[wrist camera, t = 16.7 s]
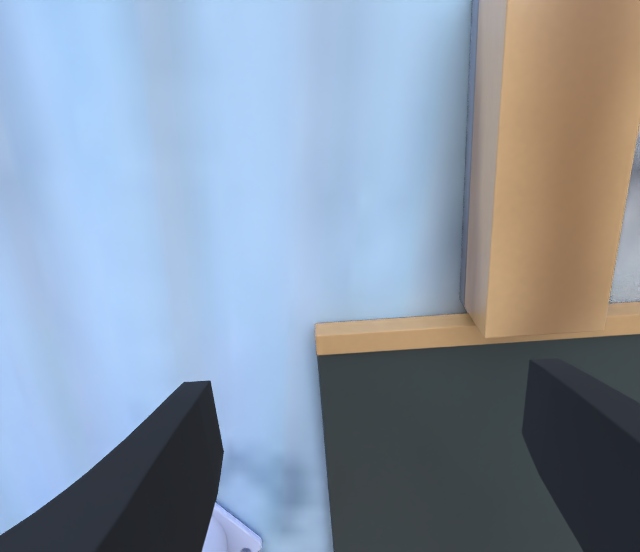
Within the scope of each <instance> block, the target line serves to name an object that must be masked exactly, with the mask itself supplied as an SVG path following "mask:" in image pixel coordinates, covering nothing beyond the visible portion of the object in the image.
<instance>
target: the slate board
mask: <svg viewBox="0 0 640 552" xmlns="http://www.w3.org/2000/svg"><path fill="white" fill-rule="evenodd" d="M315 341H316V352H317V360H318V371H319V383H320V395H321V407H322V419H323V430H324V442H325V454H326V466H327V477H328V489H329V501H330V513H331V525H332V536H333V548H334V552H583V550H582V548H581V547H580V545H579V543H578V541H577V540H576V538H575V536H574V535H573V533H572V531H571V529H570V528H569V526H568V524H567V523H566V521H565V519H564V518H563V516H562V514H561V512H560V511H559V509H558V507H557V506H556V504H555V502H554V500H553V499H552V497H551V495H550V493H549V492H548V490H547V488H546V486H545V485H544V483H543V481H542V479H541V477H540V476H539V474H538V471H537V469H536V467H535V464H534V462H533V460H532V458H531V455H530V453H529V450H528V448H527V445H526V443H525V440H524V438H523V435H522V425H523V416H524V406H525V397H526V388H527V379H528V369H529V360H530V359H545V358H559V359H561V360H563V361H565V362H567V363H569V364H571V365H573V366H575V367H577V368H578V369H580V370H582V371H584V372H586V373H587V374H589V375H591V376H593V377H594V378H596V379H598V380H600V381H602V382H603V383H605V384H607V385H609V386H610V387H612V388H614V389H616V390H617V391H619V392H621V393H623V394H625V395H626V396H628V397H630V398H632V399H633V400H635V401H637V402H639V403H640V301H639V302H625V303H610V304H608V310H607V316H606V321H605V327H604V330H603V331H591V332H576V333H561V334H546V335H531V336H515V337H500V338H484V336H483V335H482V333H481V332H480V330H479V329H478V327H477V326H476V324H475V323H474V321H473V320H472V318H471V317H470V315H469V314H468V313H462V314H447V315H433V316H418V317H403V318H388V319H374V320H359V321H344V322H329V323H316V324H315Z"/></svg>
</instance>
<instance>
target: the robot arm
mask: <svg viewBox="0 0 640 552" xmlns="http://www.w3.org/2000/svg"><path fill="white" fill-rule="evenodd" d="M522 435H523V438H524V440H525V443H526V445H527V448H528V450H529V453H530V455H531V458H532V460H533V462H534V464H535V467H536V469H537V471H538V474H539V476H540V477H541V479H542V481H543V483H544V485H545V486H546V488H547V490H548V492H549V493H550V495H551V497H552V499H553V500H554V502H555V504H556V506H557V507H558V509H559V511H560V512H561V514H562V516H563V518H564V519H565V521H566V523H567V524H568V526H569V528H570V529H571V531H572V533H573V535H574V536H575V538H576V540H577V541H578V543H579V545H580V547H581V548H582V550H583V552H640V403H639V402H637V401H635V400H633V399H632V398H630V397H628V396H626V395H625V394H623V393H621V392H619V391H617V390H616V389H614V388H612V387H610V386H609V385H607V384H605V383H603V382H602V381H600V380H598V379H596V378H594V377H593V376H591V375H589V374H587V373H586V372H584V371H582V370H580V369H578V368H577V367H575V366H573V365H571V364H569V363H567V362H565V361H563V360H561V359H559V358H545V359H530V360H529V369H528V379H527V388H526V397H525V406H524V416H523V425H522ZM223 453H224V451H223V446H222V440H221V435H220V430H219V424H218V419H217V414H216V408H215V403H214V397H213V392H212V387H211V381H196V382H184V383H183V384H181V385H180V386H179V387H178V388H177V389H176V390H175V391H174V392H173V393H172V394H171V395H170V396H169V397H168V398H167V399H166V400H165V401H164V402H163V403H162V404H161V405H160V406H159V407H158V408H157V409H156V410H155V411H154V412H153V413H152V414H151V415H150V416H149V417H148V418H147V419H146V420H144V421H143V422H142V423H141V424H140V425H139V426H138V427H137V428H136V429H135V430H134V431H133V432H132V433H131V434H130V435H129V436H128V437H127V438H126V439H125V440H124V441H122V442H121V443H120V444H119V445H118V446H117V447H116V448H114V449H113V450H112V451H111V452H110V453H109V454H108V455H106V456H105V457H104V458H103V459H102V460H101V461H100V462H98V463H97V464H96V465H95V466H94V467H93V468H92V469H90V470H89V471H88V472H87V473H86V474H85V475H83V476H82V477H81V478H80V479H78V480H77V481H76V482H75V483H73V484H72V485H71V486H70V487H68V488H67V489H66V490H65V491H63V492H62V493H60V494H59V495H58V496H56V497H55V498H54V499H52V500H51V501H50V502H48V503H47V504H46V505H44V506H43V507H42V508H40V509H39V510H38V511H36V512H35V513H33V514H32V515H30V516H29V517H28V518H26V519H25V520H23V521H21V522H20V523H18V524H17V525H15V526H14V527H12V528H11V529H9V530H8V531H6V532H5V533H3V534H2V535H0V552H258V551H260V550H261V547H262V539H261V538H260V537H259V536H258V535H257V534H255V533H254V532H253V531H252V530H250V529H249V528H248V527H246V526H245V525H244V524H243V523H241V522H240V521H239V520H237V519H236V518H235V517H234V516H232V515H231V514H230V513H228V512H227V511H226V510H225V509H223V508H222V507H221V506H220V505H218V504H217V503H216V498H217V494H218V487H219V481H220V475H221V467H222V460H223Z"/></svg>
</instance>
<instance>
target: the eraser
mask: <svg viewBox="0 0 640 552" xmlns="http://www.w3.org/2000/svg"><path fill="white" fill-rule="evenodd" d="M639 124H640V0H472V22H471V45H470V68H469V91H468V114H467V138H466V161H465V184H464V207H463V231H462V254H461V277H460V301H461V302H462V304H463V305H464V306H465V309H466V311H467V312H468V314H469V315H470V317H471V318H472V320H473V321H474V323H475V324H476V326H477V327H478V329H479V330H480V332H481V333H482V335H483V336H484V338H500V337H515V336H531V335H546V334H561V333H576V332H591V331H603V330H604V327H605V321H606V316H607V310H608V304H609V298H610V292H611V287H612V281H613V275H614V269H615V263H616V258H617V252H618V246H619V240H620V234H621V229H622V223H623V217H624V211H625V205H626V200H627V194H628V188H629V182H630V176H631V171H632V165H633V159H634V153H635V147H636V141H637V136H638V130H639Z"/></svg>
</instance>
